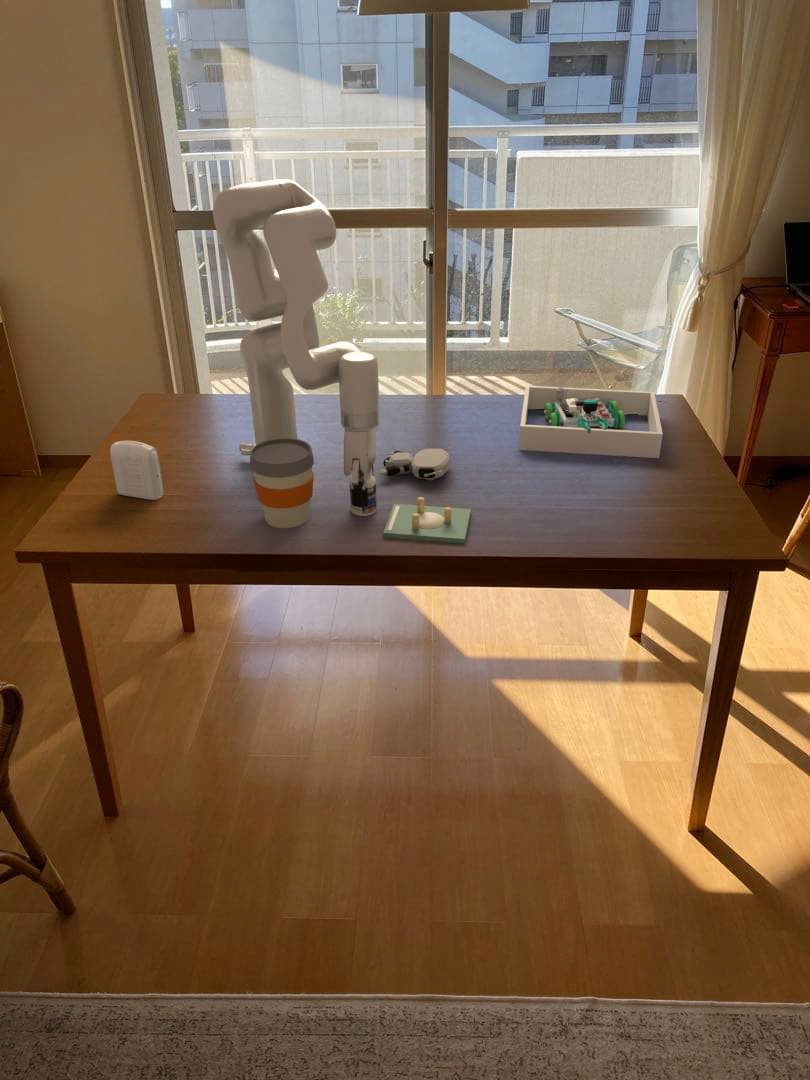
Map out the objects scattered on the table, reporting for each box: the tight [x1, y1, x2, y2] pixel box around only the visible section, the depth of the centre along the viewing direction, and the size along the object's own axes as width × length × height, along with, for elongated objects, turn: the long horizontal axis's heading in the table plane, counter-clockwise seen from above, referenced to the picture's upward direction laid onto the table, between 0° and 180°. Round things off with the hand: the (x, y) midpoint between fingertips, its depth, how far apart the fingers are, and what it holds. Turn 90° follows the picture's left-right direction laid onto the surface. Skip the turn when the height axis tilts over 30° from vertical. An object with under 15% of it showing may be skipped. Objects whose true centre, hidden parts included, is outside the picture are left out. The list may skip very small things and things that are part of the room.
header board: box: [382, 496, 472, 544], centre depth 174 cm, size 16×12×4 cm
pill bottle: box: [349, 469, 378, 517], centre depth 178 cm, size 5×5×10 cm
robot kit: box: [543, 386, 626, 433], centre depth 211 cm, size 19×25×9 cm
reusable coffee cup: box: [249, 438, 315, 529], centre depth 175 cm, size 13×13×15 cm
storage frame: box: [518, 385, 664, 459], centre depth 212 cm, size 32×26×6 cm
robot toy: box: [379, 447, 452, 481], centre depth 195 cm, size 12×4×15 cm
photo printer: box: [109, 440, 164, 501], centre depth 185 cm, size 10×4×12 cm, turn 72°
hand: (363, 497), depth 179 cm, fingers closed on pill bottle, 5 cm apart
